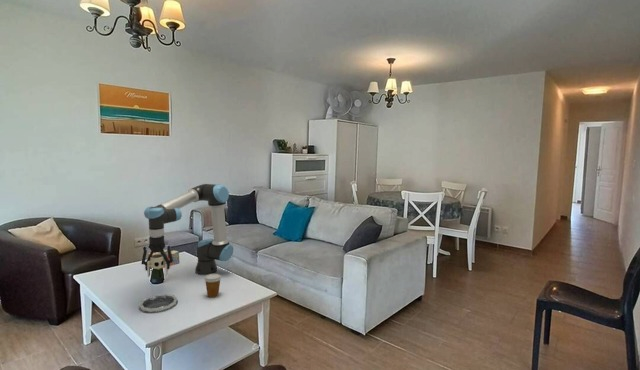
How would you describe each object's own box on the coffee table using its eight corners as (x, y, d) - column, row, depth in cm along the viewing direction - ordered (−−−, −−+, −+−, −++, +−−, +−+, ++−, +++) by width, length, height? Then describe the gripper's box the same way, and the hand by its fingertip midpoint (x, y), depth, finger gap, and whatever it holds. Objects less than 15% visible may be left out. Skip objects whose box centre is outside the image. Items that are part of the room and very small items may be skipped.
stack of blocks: (174, 261, 265) (174, 246, 264) (179, 263, 262) (179, 247, 261) (148, 269, 247) (147, 253, 246) (153, 271, 244) (152, 254, 243)
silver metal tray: (180, 295, 204) (180, 293, 204) (174, 311, 185) (174, 308, 185) (143, 298, 199) (143, 295, 199) (134, 314, 180) (134, 311, 180)
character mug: (150, 282, 184) (149, 259, 183) (145, 279, 189) (144, 256, 188) (170, 277, 192) (169, 255, 191) (165, 274, 197) (164, 252, 196)
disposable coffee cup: (224, 293, 209) (224, 274, 208) (214, 299, 200) (214, 280, 199) (211, 291, 212) (211, 272, 211) (201, 297, 203) (201, 277, 202)
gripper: (178, 233, 194) (179, 271, 197) (137, 235, 189) (138, 274, 192) (176, 236, 187) (177, 276, 190) (133, 238, 182) (135, 279, 184)
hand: (157, 275), depth 191 cm, fingers closed on character mug, 8 cm apart
